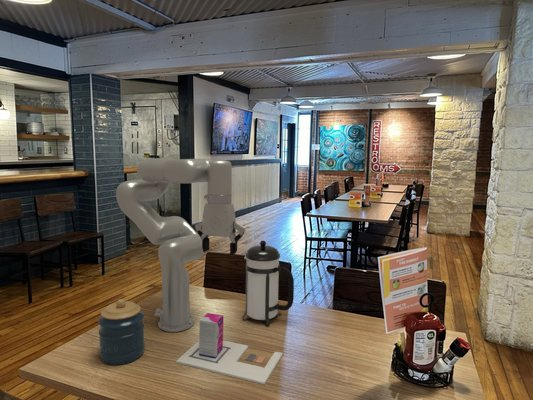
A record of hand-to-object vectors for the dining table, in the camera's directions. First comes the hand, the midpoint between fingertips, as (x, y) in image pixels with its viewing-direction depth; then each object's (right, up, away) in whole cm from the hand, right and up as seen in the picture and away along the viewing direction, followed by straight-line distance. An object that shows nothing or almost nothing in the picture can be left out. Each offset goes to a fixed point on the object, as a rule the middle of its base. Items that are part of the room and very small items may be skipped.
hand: (219, 252), depth 119 cm
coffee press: (+15, -28, +22) cm, 38 cm away
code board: (+4, -32, -6) cm, 32 cm away
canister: (-29, -31, -5) cm, 43 cm away
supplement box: (-2, -31, -4) cm, 31 cm away
